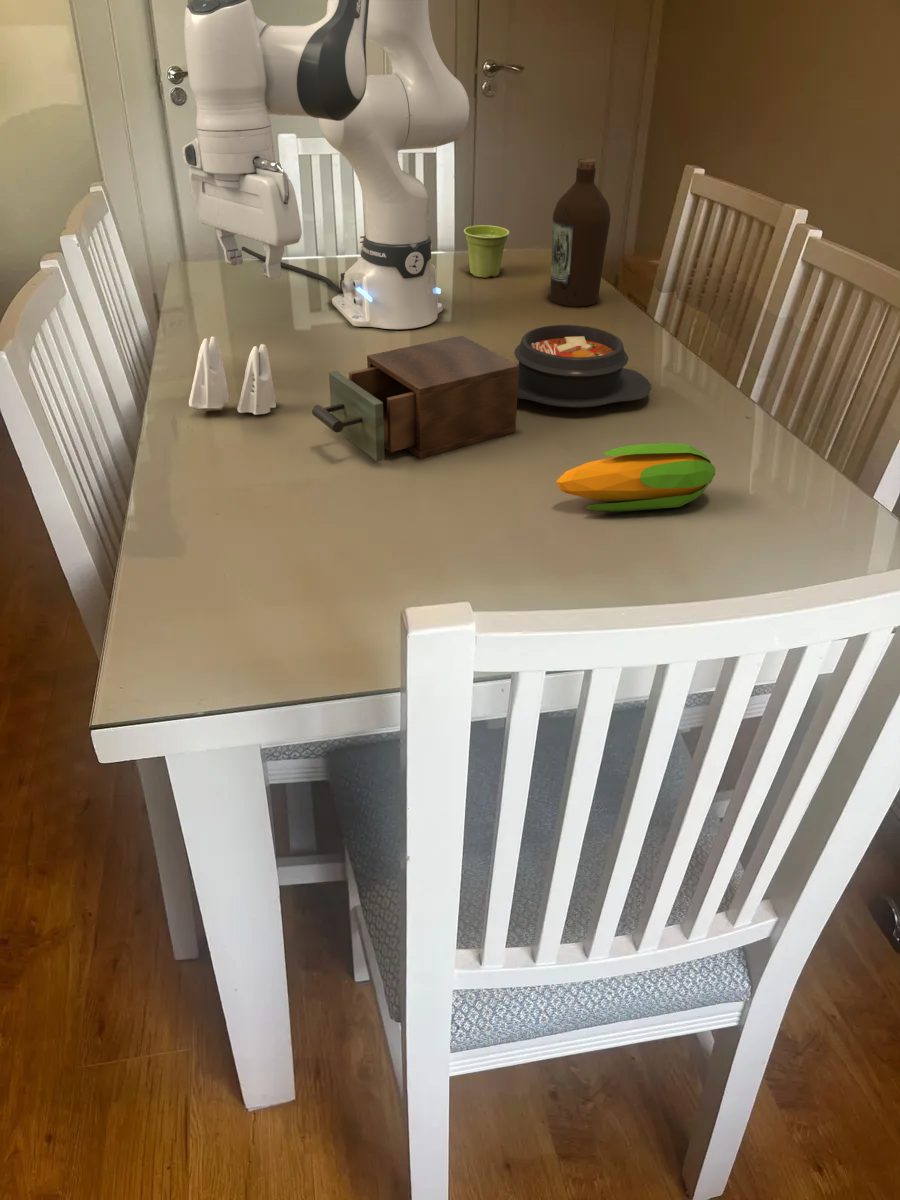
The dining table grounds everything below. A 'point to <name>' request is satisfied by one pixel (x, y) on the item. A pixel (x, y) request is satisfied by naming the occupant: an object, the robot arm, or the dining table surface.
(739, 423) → the dining table surface
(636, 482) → the corn
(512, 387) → the cabinet
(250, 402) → the shaker set
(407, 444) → the drawer
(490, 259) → the plant pot
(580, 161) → the olive oil
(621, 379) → the casserole
